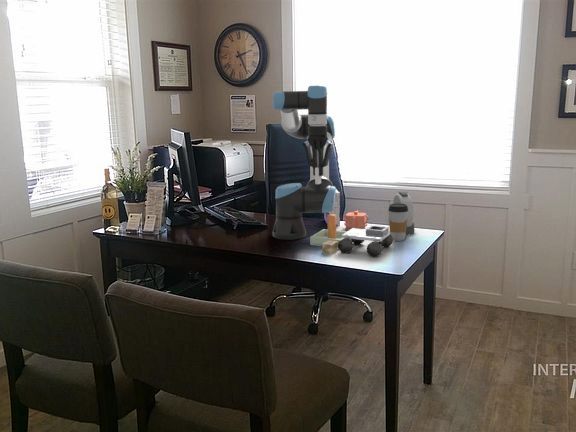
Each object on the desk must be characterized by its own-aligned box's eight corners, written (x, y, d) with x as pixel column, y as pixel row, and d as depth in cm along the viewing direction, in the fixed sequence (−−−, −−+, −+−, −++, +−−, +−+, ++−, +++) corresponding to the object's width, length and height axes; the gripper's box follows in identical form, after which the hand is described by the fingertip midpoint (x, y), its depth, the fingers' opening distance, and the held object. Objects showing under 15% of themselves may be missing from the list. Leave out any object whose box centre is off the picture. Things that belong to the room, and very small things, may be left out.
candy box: (323, 219, 275) (323, 187, 272) (335, 219, 276) (335, 187, 272) (328, 226, 262) (327, 192, 258) (340, 225, 262) (340, 192, 259)
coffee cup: (407, 241, 232) (408, 207, 229) (387, 241, 234) (388, 206, 231) (407, 236, 240) (408, 203, 237) (388, 236, 242) (388, 203, 239)
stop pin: (326, 240, 233) (326, 215, 231) (329, 238, 236) (329, 213, 234) (334, 241, 231) (334, 216, 229) (337, 239, 234) (337, 214, 232)
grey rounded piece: (418, 235, 243) (419, 194, 238) (395, 236, 242) (396, 195, 238) (408, 226, 258) (409, 188, 254) (386, 227, 258) (387, 189, 254)
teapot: (340, 232, 250) (340, 214, 249) (345, 224, 265) (345, 207, 263) (366, 233, 248) (366, 215, 246) (370, 225, 262) (370, 208, 260)
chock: (322, 253, 219) (322, 243, 218) (328, 249, 224) (328, 240, 223) (331, 254, 217) (331, 245, 216) (337, 250, 222) (337, 241, 221)
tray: (310, 244, 231) (310, 236, 230) (323, 236, 243) (323, 229, 243) (341, 248, 225) (341, 240, 224) (353, 240, 237) (353, 232, 236)
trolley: (338, 252, 219) (337, 230, 217) (352, 242, 233) (352, 222, 231) (380, 257, 211) (381, 235, 209) (393, 247, 225) (393, 225, 223)
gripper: (298, 125, 218) (299, 184, 223) (328, 125, 212) (329, 186, 217) (306, 124, 225) (307, 181, 230) (336, 124, 219) (336, 183, 224)
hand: (318, 183), depth 224 cm, fingers closed
